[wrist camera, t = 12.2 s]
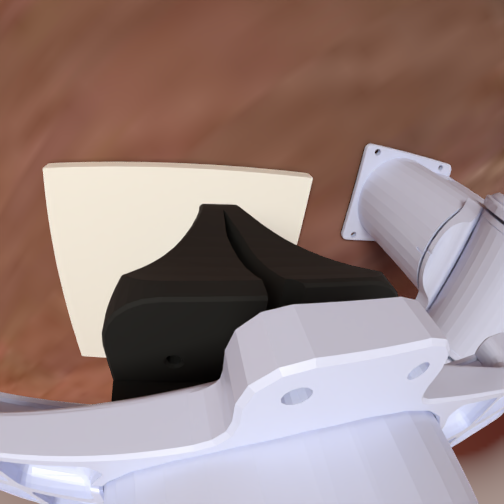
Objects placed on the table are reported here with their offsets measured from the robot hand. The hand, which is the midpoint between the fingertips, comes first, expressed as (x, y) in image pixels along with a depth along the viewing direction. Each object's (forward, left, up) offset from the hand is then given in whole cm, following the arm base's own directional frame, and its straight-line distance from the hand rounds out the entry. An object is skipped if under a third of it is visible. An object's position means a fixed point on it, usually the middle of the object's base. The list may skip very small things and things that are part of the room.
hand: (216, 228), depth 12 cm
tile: (+2, +10, -10) cm, 14 cm away
